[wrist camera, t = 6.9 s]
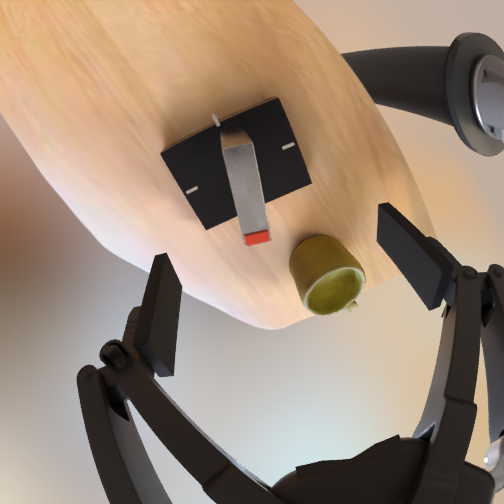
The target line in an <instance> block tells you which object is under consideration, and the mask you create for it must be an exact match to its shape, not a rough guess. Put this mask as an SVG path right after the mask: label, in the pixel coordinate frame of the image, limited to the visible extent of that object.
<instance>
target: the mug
mask: <svg viewBox="0 0 504 504" xmlns="http://www.w3.org/2000/svg"><path fill="white" fill-rule="evenodd" d="M289 268H290V273H291V275H292V277H293V279H294V281H295V284H296V287H297V290H298V292H299V295H300V298H301V301H302V303H303V305H304V307H305V308H306V309H307V310H308V311H309V312H311V313H313V314H315V315H320V316H324V315H330V314H334V313H336V312H339V311H340V310H342V309H344V310H345V311H346V312H348V313H349V312H352V311H353V310H354V309H356V308H357V307H358V305H357V304H356V302H355V299H356V298H357V297H358V296H359V294H360V293H361V292H362V290H363V288H364V285H365V281H366V278H365V273H364V270H363V268H362V267H361V265H360V263H359V262H358V261H357V260H356V259H355V258H354V256H353V255H352V254H351V253H350V252H349V251H348V250H347V249H346V248H345V247H344V246H343V245H342V244H341V243H340V242H339V241H338V240H336V239H335V238H333V237H330V236H325V235H320V236H314V237H310V238H308V239H306V240H305V241H303V242H302V243H300V244H299V245H298V246H297V248H296V249H295V251H294V252H293V253H292V255H291V257H290V261H289Z"/></svg>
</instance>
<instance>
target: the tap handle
mask: <svg viewBox="0 0 504 504" xmlns="http://www.w3.org/2000/svg"><path fill="white" fill-rule="evenodd" d="M220 139H221V148H222V153H223V157H224V161H225V166H226V170H227V174H228V178H229V182H230V186H231V190H232V194H233V199H234V203H235V207H236V211H237V215H238V219H239V223H240V227H241V231H242V235H243V240H244V244H245V246H251V245H255V244H259V243H264V242H268V241H271V234H270V229H269V223H268V218H267V212H266V207H265V202H264V196H263V191H262V186H261V180H260V175H259V170H258V165H257V160H256V155H255V150H254V144H253V142H252V140H251V139H250V137H249V136H248V135H247V133H246V132H245V130H244V129H243V127H242V126H240V127H235V128H231V129H226V130H222V131H220Z"/></svg>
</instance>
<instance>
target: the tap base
mask: <svg viewBox="0 0 504 504" xmlns="http://www.w3.org/2000/svg"><path fill="white" fill-rule="evenodd" d="M212 117H213V119H214V121H215V122H214V123H212V124H210V125H208V126H206V127H204V128H202V129H200V130H198V131H196V132H194V133H192V134H190V135H188V136H186V137H184V138H182V139H180V140H179V141H177V142H175V143H173V144H171V145H169V146H168V147H166V148H164V149H163V151H162V152H161V153H160V155H161V156H162V158H163V160H164V161H165V163H166V165H167V166H168V168H169V170H170V172H171V173H172V175H173V177H174V178H175V180H176V182H177V183H178V185H179V187H180V188H181V190H182V192H183V193H184V195H185V197H186V198H187V200H188V202H189V203H190V205H191V207H192V208H193V210H194V212H195V213H196V215H197V216H198V218H199V220H200V221H201V223H202V225H203V226H204V228H205V229H206V230H208V229H210V228H212V227H215V226H217V225H219V224H221V223H223V222H225V221H228V220H230V219H232V218H234V217H236V216H238V215H237V211H236V207H235V203H234V199H233V194H232V190H231V186H230V182H229V178H228V174H227V170H226V166H225V161H224V157H223V153H222V148H221V139H220V131H222V130H226V129H231V128H235V127H240V126H242V127H243V129H244V130H245V132H246V133H247V135H248V136H249V137H250V139H251V140H252V142H253V144H254V150H255V155H256V160H257V165H258V170H259V175H260V180H261V186H262V191H263V196H264V202H265V203H267V202H270V201H272V200H274V199H277V198H279V197H281V196H283V195H286V194H288V193H290V192H293V191H295V190H297V189H300V188H302V187H305V186H307V185H309V184H312V181H311V179H310V176H309V173H308V170H307V167H306V165H305V162H304V159H303V157H302V154H301V151H300V149H299V146H298V143H297V141H296V138H295V136H294V133H293V131H292V128H291V126H290V123H289V121H288V118H287V116H286V114H285V111H284V109H283V107H282V104H281V102H280V100H279V98H277V97H272V98H269V99H267V100H264V101H262V102H259V103H257V104H254V105H252V106H249V107H247V108H245V109H242V110H240V111H238V112H236V113H233V114H231V115H229V116H227V117H224V118H222V119H220V120H218V119H217V117H216V115H215V114H213V115H212Z"/></svg>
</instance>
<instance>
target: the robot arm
mask: <svg viewBox="0 0 504 504" xmlns="http://www.w3.org/2000/svg"><path fill="white" fill-rule="evenodd" d="M469 99H470V105H471V110H472V113H473V116H474V119H475V121H476V123H477V125H478V127H479V128H480V130H481V131H482V132H483V133H484V134H486V135H488V136H490V137H492V138H494V139H497V140H502V142H503V143H504V60H502V59H500V58H499V57H497V56H494V55H487V54H482V55H480V56H478V57H477V58H476V59H475V60H474V62H473V64H472V66H471V70H470V74H469ZM377 242H378V243H379V245H380V246H381V247H382V248H383V250H384V251H385V252H386V253H387V255H388V256H389V257H390V258H391V260H392V261H393V262H394V263H395V265H396V266H397V267H398V269H399V270H400V271H401V272H402V274H403V275H404V276H405V278H406V279H407V280H408V282H409V283H410V284H411V286H412V287H413V288H414V290H415V291H416V293H417V294H418V295H419V297H420V298H421V299H422V301H423V302H424V304H425V305H426V307H427V308H428V310H429V311H430V310H433V309H435V308H438V307H440V305H441V302H442V300H443V298H444V300H445V301H446V306H445V308H444V311H443V313H442V316H441V317H443V316H444V319H443V327H442V333H441V340H440V346H439V351H438V356H437V361H436V366H435V370H434V375H433V379H432V383H431V387H430V391H429V394H428V398H427V401H426V405H425V408H424V411H423V414H422V417H421V420H420V422H419V424H418V426H417V428H416V429H415V431H414V434H413V436H412V438H409V437H406V438H400V436H399V434H398V435H396V436H394V437H391V438H389V439H386V440H384V441H381V442H379V443H376V444H374V445H373V446H371V447H370V448H368V449H367V450H365V451H363V452H362V453H360V454H359V455H357V456H355V457H353V458H351V459H343V460H327V461H319V462H315V463H311V464H306V465H302V466H297V467H296V470H295V471H293V472H291V473H289V474H287V475H285V476H284V477H283V478H281V479H280V480H279V481H278V482H276V483H275V484H274V486H273V487H272V488H271V487H270V486H268V485H267V484H266V483H265V482H263V481H262V480H260V479H259V478H258V477H256V476H255V475H254V474H252V473H251V472H249V471H248V470H247V469H245V468H244V467H243V466H242V465H241V464H239V463H238V462H237V461H236V460H235V459H233V458H232V457H231V456H230V455H229V454H227V453H226V452H225V451H224V450H223V449H222V448H221V447H220V446H218V445H217V444H216V443H215V442H214V441H213V440H212V439H211V438H210V437H209V436H208V435H207V434H206V433H204V432H203V431H202V430H201V429H200V428H199V427H198V426H197V425H196V424H195V423H194V422H193V421H192V420H191V419H190V418H189V417H188V416H187V415H186V414H185V412H183V410H182V409H181V408H180V407H179V406H178V405H177V404H176V403H175V402H174V401H173V400H172V399H171V397H170V396H169V395H168V394H167V393H166V392H165V391H164V390H163V388H162V387H161V386H160V385H159V384H158V383H157V382H156V380H155V379H154V373H155V372H156V373H157V375H158V376H159V377H168V376H174V365H175V352H176V340H177V330H178V320H179V311H180V310H179V309H180V302H181V293H182V285H181V283H180V281H179V279H178V276H177V274H176V272H175V270H174V268H173V266H172V264H171V261H170V259H169V257H168V255H167V253H163V254H159V255H155V258H154V261H153V264H152V268H151V271H150V275H149V278H148V282H147V286H146V289H145V293H144V297H143V301H142V305H141V306H139V307H134V308H133V309H132V311H131V312H130V314H129V316H128V320H127V324H126V327H125V332H124V335H123V340H122V342H121V341H120V340H116V339H114V340H111V341H109V342H107V343H106V344H105V345H104V346H103V347H102V348H101V350H100V355H99V356H100V360H101V361H102V362H103V363H104V364H105V365H106V366H104V367H102V368H100V369H97V368H95V367H94V366H93V365H86V366H84V367H83V368H81V370H80V371H79V372H78V375H77V386H78V393H79V398H80V404H81V409H82V414H83V419H84V423H85V428H86V432H87V435H88V440H89V443H90V447H91V451H92V454H93V457H94V461H95V464H96V467H97V470H98V473H99V476H100V479H101V482H102V485H103V487H104V490H105V492H106V495H107V498H108V500H109V502H110V504H172V502H171V500H170V498H169V497H168V495H167V493H166V491H165V489H164V487H163V485H162V484H161V482H160V480H159V478H158V476H157V474H156V472H155V470H154V467H153V465H152V463H151V461H150V459H149V457H148V455H147V452H146V450H145V448H144V445H143V443H142V441H141V438H140V436H139V433H138V431H137V428H136V426H135V423H134V420H133V418H132V415H131V412H130V409H129V406H128V404H127V400H130V401H131V402H132V404H133V405H134V406H135V408H136V409H137V411H138V412H139V413H140V415H141V416H142V418H143V419H144V420H145V421H146V423H147V424H148V425H149V427H150V428H151V429H152V431H153V432H154V433H155V434H156V436H157V437H158V438H159V439H160V441H161V442H162V443H163V444H164V445H165V446H166V448H167V449H168V450H169V451H170V452H171V453H172V455H173V456H174V457H175V458H176V459H177V460H178V461H179V462H180V463H181V465H183V467H184V468H185V469H186V470H187V471H188V472H189V473H190V474H191V475H192V476H193V477H194V478H195V479H196V480H197V481H198V482H199V483H200V484H201V485H202V488H203V490H204V492H205V493H206V494H207V495H208V496H209V497H210V498H211V499H212V500H213V501H214V502H215V503H217V504H493V500H494V496H495V493H497V492H498V491H500V490H501V489H502V488H504V268H503V267H501V266H500V265H497V264H492V265H490V266H489V269H488V271H487V272H480V273H478V272H477V271H476V270H475V269H474V268H472V267H470V266H462V265H461V264H460V263H459V262H458V261H457V260H456V259H455V258H454V256H453V255H452V254H451V253H450V252H448V250H447V249H446V248H445V247H443V245H442V244H441V243H440V242H439V241H438V240H436V239H434V238H432V237H426V236H425V235H423V234H422V233H421V232H420V231H419V230H418V229H417V228H416V227H415V226H414V225H413V224H412V223H411V222H410V221H409V220H408V219H407V218H406V217H404V216H403V215H402V214H401V213H400V212H399V211H398V210H397V209H396V208H394V207H393V206H392V205H391V204H390V203H389V202H387V203H382V204H378V226H377ZM480 336H481V342H482V347H483V354H484V361H485V369H486V378H487V389H488V410H489V435H490V443H491V445H490V447H489V449H488V452H487V453H486V454H485V457H484V459H485V462H486V463H487V464H486V468H485V469H483V468H480V467H478V466H476V465H473V464H471V463H469V462H467V461H465V457H466V454H467V450H468V447H469V443H470V440H471V436H472V432H473V428H474V423H475V419H476V414H477V405H476V404H475V403H474V393H475V388H476V381H477V373H478V364H479V353H480Z"/></svg>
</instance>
